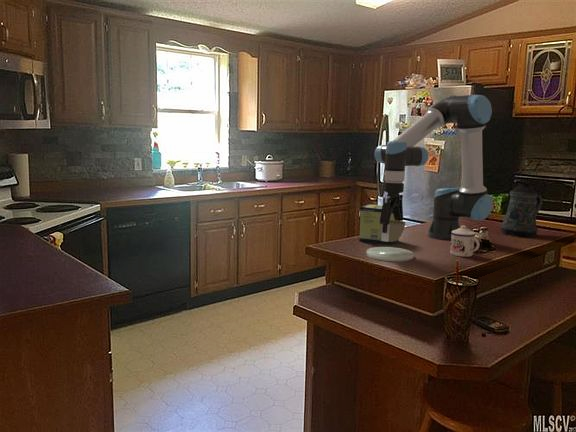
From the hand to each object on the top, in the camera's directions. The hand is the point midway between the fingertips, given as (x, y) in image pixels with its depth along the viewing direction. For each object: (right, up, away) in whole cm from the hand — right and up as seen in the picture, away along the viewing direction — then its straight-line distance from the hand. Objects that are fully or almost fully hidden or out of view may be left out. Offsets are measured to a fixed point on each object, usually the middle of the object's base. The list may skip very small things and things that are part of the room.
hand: (390, 239), depth 195 cm
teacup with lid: (+31, -7, +6) cm, 32 cm away
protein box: (+1, -2, +28) cm, 28 cm away
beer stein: (+75, 0, +54) cm, 92 cm away
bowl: (0, 0, 0) cm, 1 cm away
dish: (0, -7, +1) cm, 7 cm away
